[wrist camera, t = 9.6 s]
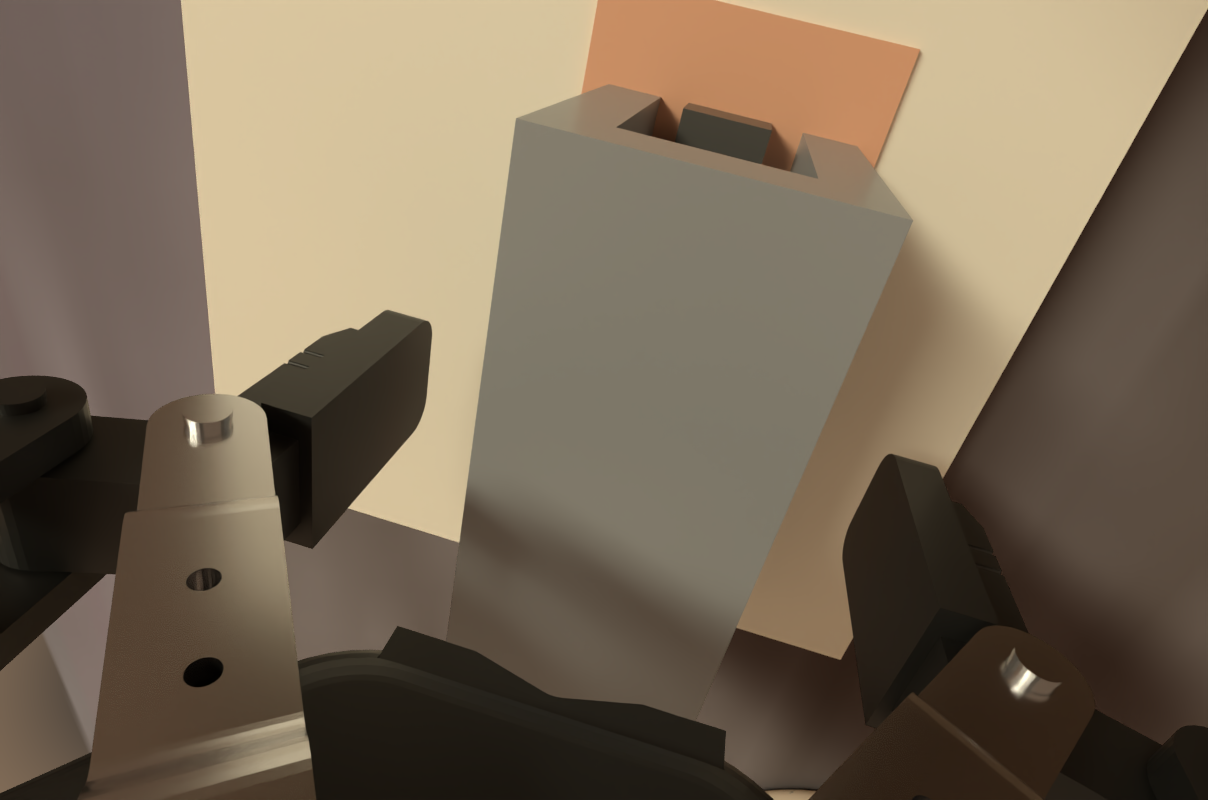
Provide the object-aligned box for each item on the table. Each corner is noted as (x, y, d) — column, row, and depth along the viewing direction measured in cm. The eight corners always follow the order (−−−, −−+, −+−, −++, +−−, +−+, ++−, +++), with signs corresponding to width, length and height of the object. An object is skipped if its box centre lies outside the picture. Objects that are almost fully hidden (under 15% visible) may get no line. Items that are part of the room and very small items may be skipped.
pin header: (688, 103, 12) (683, 107, 11) (771, 123, 11) (772, 130, 11) (577, 549, 17) (567, 575, 16) (634, 566, 16) (628, 593, 16)
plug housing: (608, 84, 12) (515, 117, 7) (857, 146, 11) (913, 220, 7) (522, 532, 17) (436, 711, 12) (693, 585, 16) (666, 786, 12)
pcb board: (164, -849, 9) (91, -956, 8) (1524, -642, 8) (1633, -737, 7) (247, 463, 19) (220, 486, 18) (829, 642, 18) (832, 676, 17)
